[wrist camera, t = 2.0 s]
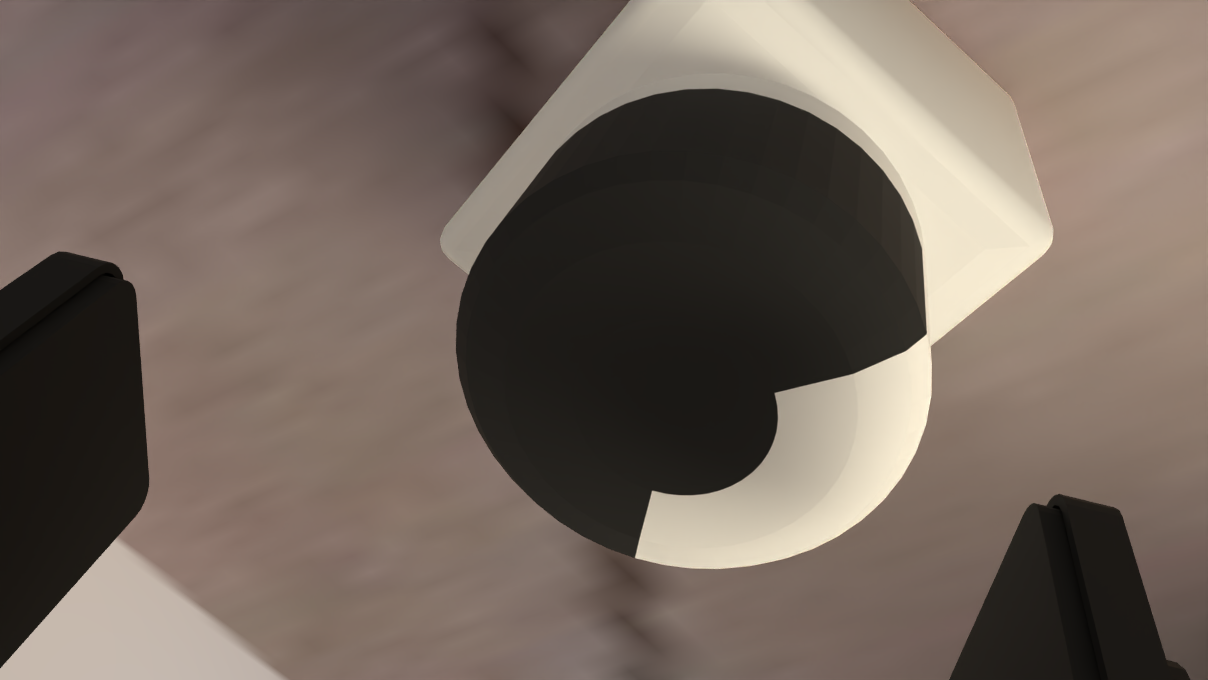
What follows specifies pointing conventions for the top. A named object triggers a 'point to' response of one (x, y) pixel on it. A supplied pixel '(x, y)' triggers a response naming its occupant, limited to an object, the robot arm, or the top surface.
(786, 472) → the medicine bottle
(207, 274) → the top surface
